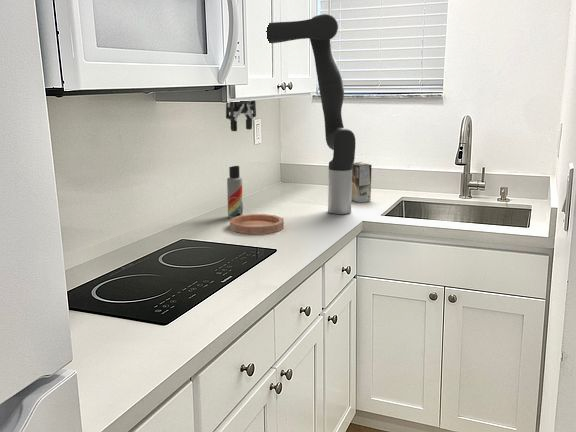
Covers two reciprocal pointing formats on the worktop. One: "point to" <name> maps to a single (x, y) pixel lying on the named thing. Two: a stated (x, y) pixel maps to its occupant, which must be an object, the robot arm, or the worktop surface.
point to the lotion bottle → (234, 193)
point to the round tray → (256, 224)
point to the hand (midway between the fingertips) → (241, 130)
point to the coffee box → (361, 182)
